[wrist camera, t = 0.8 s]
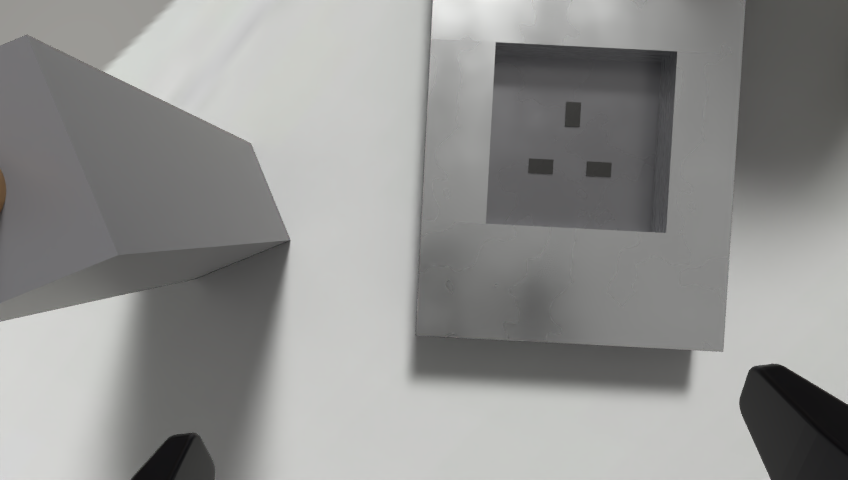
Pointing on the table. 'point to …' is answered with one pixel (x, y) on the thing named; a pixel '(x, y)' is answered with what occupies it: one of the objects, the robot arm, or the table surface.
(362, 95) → the table surface
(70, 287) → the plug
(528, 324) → the socket plate
